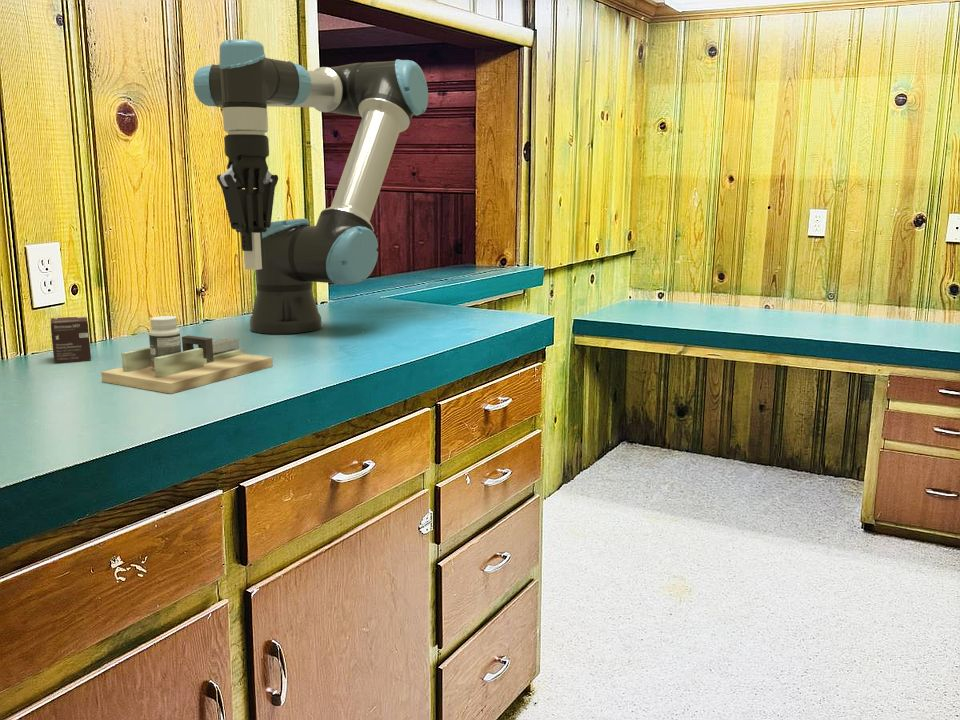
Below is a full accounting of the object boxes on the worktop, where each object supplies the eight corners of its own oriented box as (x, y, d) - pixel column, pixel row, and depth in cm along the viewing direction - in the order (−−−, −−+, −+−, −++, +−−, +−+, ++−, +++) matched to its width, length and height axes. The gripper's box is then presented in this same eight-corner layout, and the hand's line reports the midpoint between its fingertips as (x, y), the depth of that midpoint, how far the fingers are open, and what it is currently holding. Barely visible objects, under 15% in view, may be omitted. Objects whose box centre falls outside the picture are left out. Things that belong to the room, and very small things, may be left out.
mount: (206, 357, 156) (204, 326, 155) (272, 366, 148) (271, 334, 147) (102, 381, 137) (98, 347, 136) (171, 393, 130) (168, 357, 128)
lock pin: (229, 351, 153) (228, 338, 152) (239, 352, 152) (238, 339, 151) (199, 358, 147) (198, 344, 146) (209, 359, 146) (208, 346, 145)
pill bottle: (151, 366, 141) (147, 316, 139) (182, 364, 143) (178, 314, 141) (151, 372, 137) (147, 320, 135) (183, 370, 138) (179, 318, 137)
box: (53, 364, 151) (49, 323, 149) (54, 357, 156) (50, 317, 155) (91, 360, 153) (87, 320, 152) (90, 354, 159) (87, 315, 157)
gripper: (256, 136, 157) (263, 265, 162) (202, 132, 146) (211, 271, 151) (288, 135, 153) (293, 266, 158) (234, 131, 142) (242, 273, 147)
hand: (253, 268), depth 154 cm, fingers closed
